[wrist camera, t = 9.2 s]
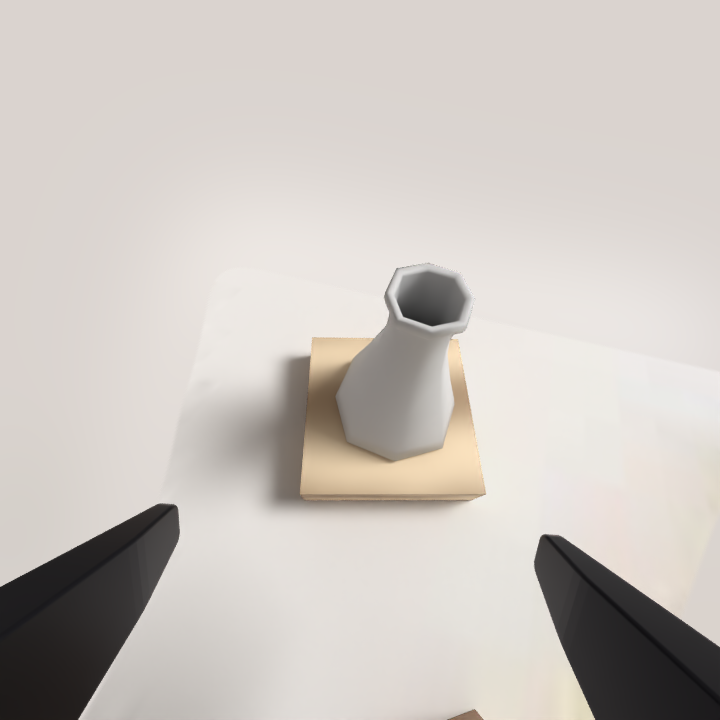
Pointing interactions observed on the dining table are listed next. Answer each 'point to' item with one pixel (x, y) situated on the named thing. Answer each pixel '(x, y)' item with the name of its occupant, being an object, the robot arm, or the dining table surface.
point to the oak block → (369, 470)
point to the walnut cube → (468, 716)
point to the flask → (407, 366)
